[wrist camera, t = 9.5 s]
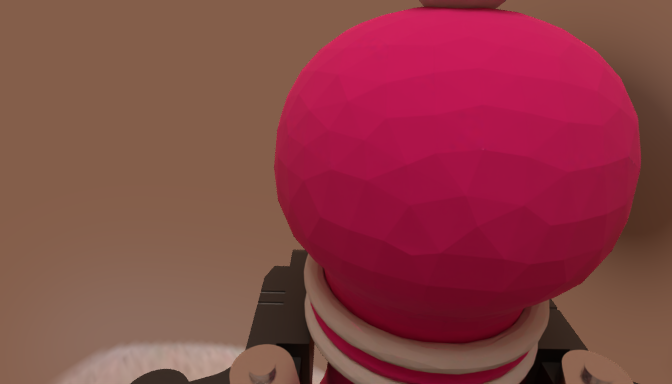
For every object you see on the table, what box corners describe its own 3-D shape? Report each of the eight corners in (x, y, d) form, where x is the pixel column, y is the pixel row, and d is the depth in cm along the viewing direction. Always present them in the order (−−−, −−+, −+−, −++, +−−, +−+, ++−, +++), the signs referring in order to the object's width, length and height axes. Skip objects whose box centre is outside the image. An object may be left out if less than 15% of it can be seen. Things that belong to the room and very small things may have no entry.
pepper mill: (446, 456, 17) (578, -68, 9) (517, 723, 11) (1321, -276, 2) (287, 458, 17) (257, -78, 8) (265, 732, 11) (35, -348, 2)
